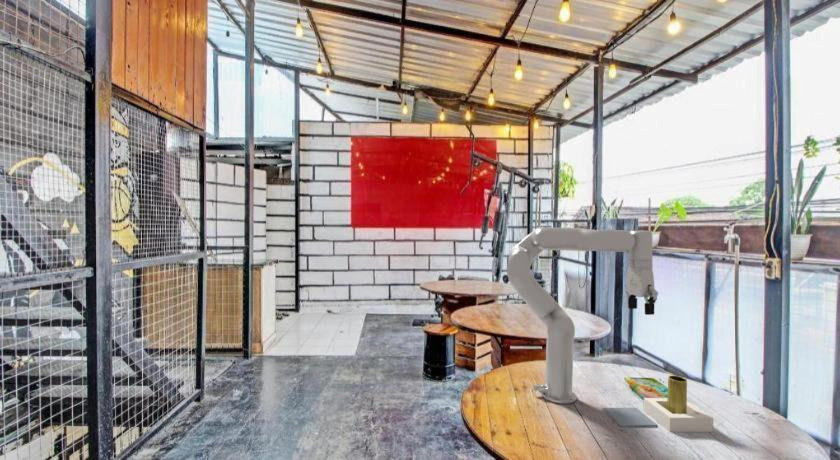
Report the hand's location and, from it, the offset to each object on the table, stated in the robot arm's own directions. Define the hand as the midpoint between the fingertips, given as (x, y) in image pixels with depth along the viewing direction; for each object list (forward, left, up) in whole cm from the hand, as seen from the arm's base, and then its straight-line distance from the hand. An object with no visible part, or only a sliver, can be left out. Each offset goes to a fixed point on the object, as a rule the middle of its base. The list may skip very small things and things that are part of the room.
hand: (640, 311), depth 144 cm
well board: (+6, -12, -34) cm, 37 cm away
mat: (-9, -10, -34) cm, 37 cm away
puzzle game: (+9, +6, -34) cm, 36 cm away
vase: (+6, -12, -34) cm, 37 cm away
